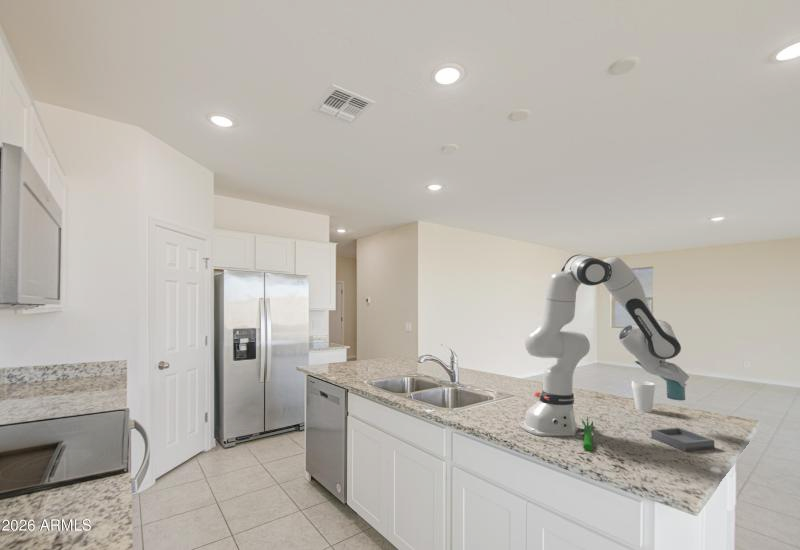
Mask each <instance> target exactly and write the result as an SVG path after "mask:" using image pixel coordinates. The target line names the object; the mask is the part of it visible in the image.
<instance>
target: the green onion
mask: <svg viewBox="0 0 800 550" xmlns="http://www.w3.org/2000/svg"><path fill="white" fill-rule="evenodd" d="M581 423H582V425H583V426H584V428H583V429H584V430H583V432H582V431H581V432H580V433H579V434H580V435H583V443H582V444H583V445H582V448H583V449H584V450H585V451H587V450H589V452H591V451H593V448H594V446H593V436H594V435H595V434H594V432H592V429H593V427H594V421H591V423H589V417H588V416H586V422H585V420H584V419H581ZM589 424H590V425H589Z"/></svg>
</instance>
